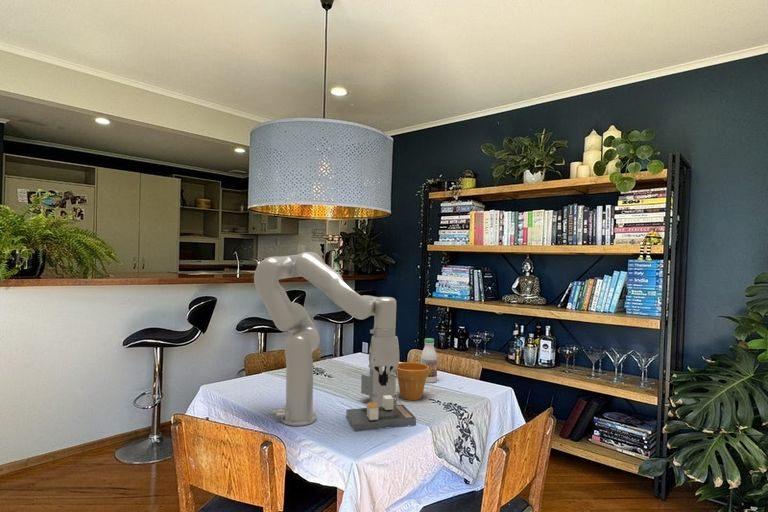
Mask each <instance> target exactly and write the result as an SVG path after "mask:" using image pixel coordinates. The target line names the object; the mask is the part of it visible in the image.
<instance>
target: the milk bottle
mask: <svg viewBox="0 0 768 512" xmlns="http://www.w3.org/2000/svg"><path fill="white" fill-rule="evenodd" d="M434 344H435V339H434V338H431V337H426V338H424V346H423V350H422V352H421V356H420V363H422V364H426V365H427V366H429V376H428V377H427V378H426V382H425V384H427V383H428V384H432V383H437V381H438V377H437V376H438V355H437V351H436V349H435V346H434Z"/></svg>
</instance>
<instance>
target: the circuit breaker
mask: <svg viewBox="0 0 768 512" xmlns="http://www.w3.org/2000/svg"><path fill="white" fill-rule="evenodd" d="M384 367H385V366H382V370H383V371H384ZM395 374H396V375H395ZM378 376H379V373H378V372H377V371H376V370H375V369H370V368H369V371H368V372H366V373H363V374H361V378H360V379H361V386H360V388H361V389H360V390H361V391H360V392H361V393H360V394H363V395H366V396H368V397H369V398H368V399H369V402H368V403H372V402H376V404H377V405H378V406H379V407H382V401H383V396H386V395H391V396H392V398H393V406H394V405H398V403H397V402H398V392H397V391H396V390H397V389H396V388H397V387H396V386H397V379H398V371H397V368H394V369H392V370H391V371H390V372H389V374H388V382H387V383H386V386H384V385H383V386H381V385H380V383H379V382H378Z"/></svg>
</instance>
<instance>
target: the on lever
mask: <svg viewBox="0 0 768 512" xmlns="http://www.w3.org/2000/svg"><path fill="white" fill-rule="evenodd" d="M382 407H383V408H384V409H385V410H392V409H393V398H392V396H391V395H386V396H383V401H382Z"/></svg>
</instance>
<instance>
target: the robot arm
mask: <svg viewBox="0 0 768 512" xmlns="http://www.w3.org/2000/svg"><path fill="white" fill-rule="evenodd" d="M298 277H302V278H304V279H305V280H307V281H308V282H309V283H311V284H312V285H313V286H314V287H316V288H317V289H319V290H320V291H322V292H323V293H324V294H325V295H326V296H327V297H328V298H329V299H330V300H331V301H332V302H333V303H334V304H335V305H337V306H338V308H340V309H341V310H343V311H344V312H346V313H347V314H348V315H349V316H351V317H352V318H355V319H357V320H365V319H366V320H367V318H369V317H371V316H374V319H373V320H374V321H373V322H374V323H373V328H372V329H369V334H372V335H371V338H370V345H369V351H368V361H369V362H368V365H367V367H368V369H369V370H370V369H375V370H376V371H377V372H378V373H379V376H378V382H379V383H380V385H381V386H383V385H384V386H386V383H387V382H388V374H389V372H390V371H391V370H392V369H394V368H397V367H398V364H399V363H400V345H399V339H398V336H397V335H396V327H397V326H396V325H397V324H396V323H397V300H396V299H395V298H394V297H391V296H379V297H378V296H374V295H368V294H367V295H365V294H364V295H361V294H359V293H358V292H356V291H355V290H354V289H352V288H351V287H350V286H349V285H348V284H347V283H346V282H345V281H344V279H343V276H342V275H341V274H340V273H339V272H338V271H337V270H335V269H333V268H332V267H330V266H329V265H328V264H326V262H324V261H323V259H322V258H321V256H320V255H319V254H318V253H316V252H313V251H303V252H301V253H299V254H292V255H284V256H283V255H282V256H281V255H280V256H278V255H277V256H275V255H274V256H269V257H266V258H264V259H263V260H261V261H260V262H259V263H258V265H257V266H256V268H255V271H254V275H253V282H254V286H255V289H256V291H257V293H258V294H259V297H260V299H261V300H262V302H263V304H264V306H265V307H266V309H267V311H268V314H269V316H270V318H271V319H272V322H273V323H274V325H275V327H276V328H277V329H278V330H279V331H281V332H289V333H290V334H291V335H289V336H288V338H287V339H286V341H285V344H284V356H285V371H286V372H285V379H286V380H285V404H284V406H283V407H281V409H280V408H279V409H272V416H275V417H277V418H278V417H279V418H280V421H281V423H282V424H284V425H287V426H292V427H293V426H294V427H301V426H308V425H310V424H312V423H315V422H316V421H317V420H318V415H317V413H315V412H314V409H313V408H314V362H313V353H314V351H316V350H317V349H318V347H319V345H320V343H321V342H320V341H321V338H320V334H319V332H318V330H317V328H316V327H315V324H314V322H313V321H312V319H311V317H310V315H309V313H308V311H307V310H306V309H305V307H304V306H303V305H302V304H299V302H292V301H291V300H290V298H289V296H288V294H287V292H286V290H285V289H284V287H283V286H282V285H281V284H280V282H279V280H284V279H289V278H290V279H291V278H298ZM382 366H385V367H384V371H383V370H382Z"/></svg>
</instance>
